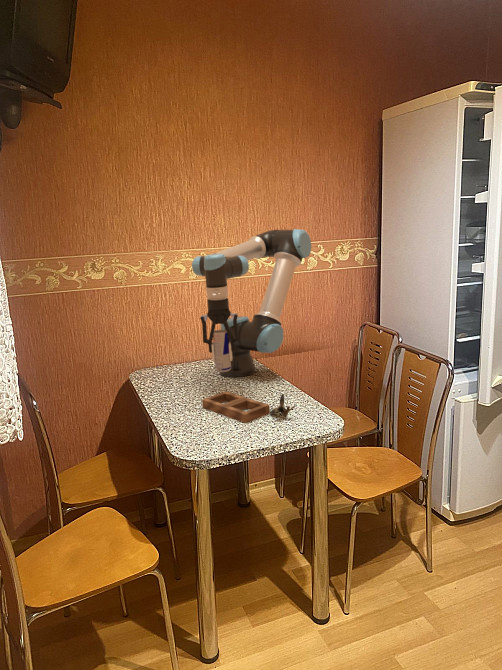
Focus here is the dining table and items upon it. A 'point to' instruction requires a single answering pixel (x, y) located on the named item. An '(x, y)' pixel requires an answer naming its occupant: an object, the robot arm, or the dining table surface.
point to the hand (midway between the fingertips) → (222, 360)
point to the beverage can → (221, 351)
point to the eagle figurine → (282, 407)
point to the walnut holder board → (236, 406)
